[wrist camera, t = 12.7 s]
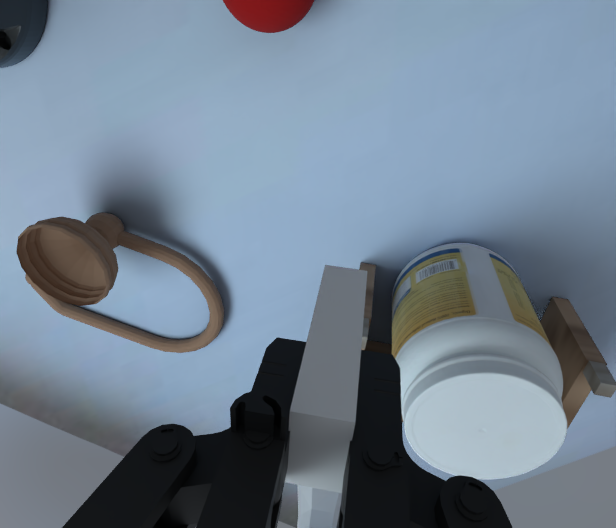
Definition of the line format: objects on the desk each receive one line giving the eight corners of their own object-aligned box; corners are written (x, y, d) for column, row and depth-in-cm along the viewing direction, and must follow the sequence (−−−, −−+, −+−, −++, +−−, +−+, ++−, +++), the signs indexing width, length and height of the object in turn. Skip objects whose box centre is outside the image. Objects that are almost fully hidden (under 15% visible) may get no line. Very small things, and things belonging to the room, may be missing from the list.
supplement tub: (385, 333, 48) (380, 473, 33) (398, 232, 42) (399, 349, 27) (503, 347, 46) (552, 501, 31) (535, 243, 40) (613, 376, 25)
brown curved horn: (217, 355, 56) (249, 236, 45) (188, 413, 49) (218, 288, 37) (40, 290, 56) (27, 153, 44) (-15, 339, 48) (-47, 190, 37)
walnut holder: (360, 262, 44) (350, 333, 34) (568, 299, 42) (620, 386, 32) (344, 345, 49) (331, 427, 40) (527, 382, 48) (560, 477, 38)
